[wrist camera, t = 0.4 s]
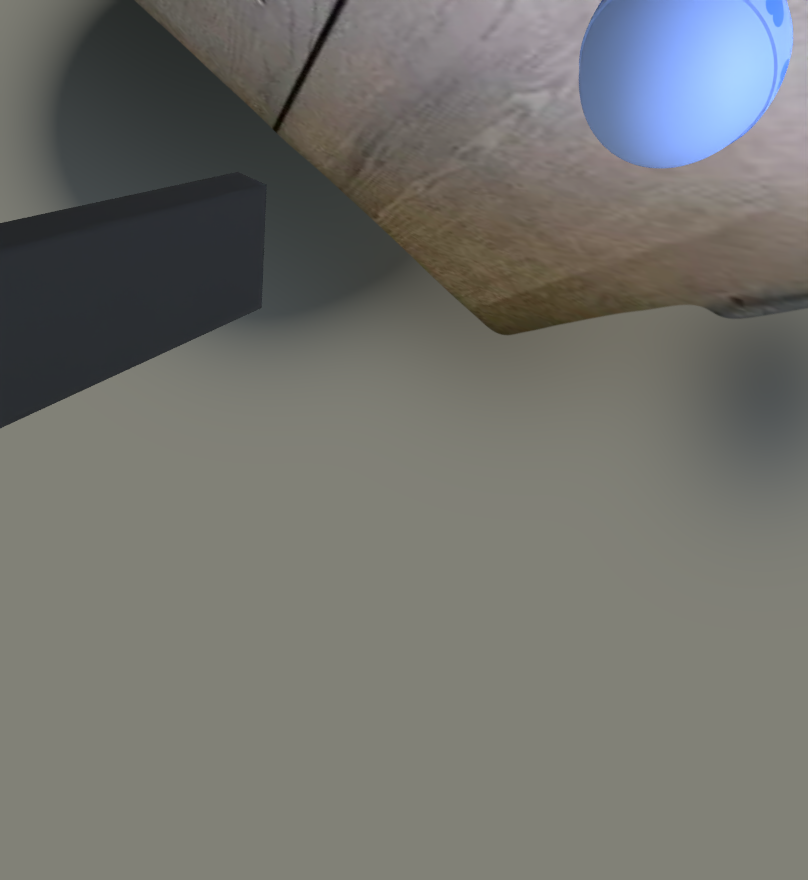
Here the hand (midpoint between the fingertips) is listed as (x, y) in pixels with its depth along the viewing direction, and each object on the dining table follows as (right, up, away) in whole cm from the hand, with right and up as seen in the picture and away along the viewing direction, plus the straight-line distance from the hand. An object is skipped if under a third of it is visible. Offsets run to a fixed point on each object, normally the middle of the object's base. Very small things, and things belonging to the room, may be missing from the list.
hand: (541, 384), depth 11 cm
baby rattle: (+17, +27, +19) cm, 37 cm away
